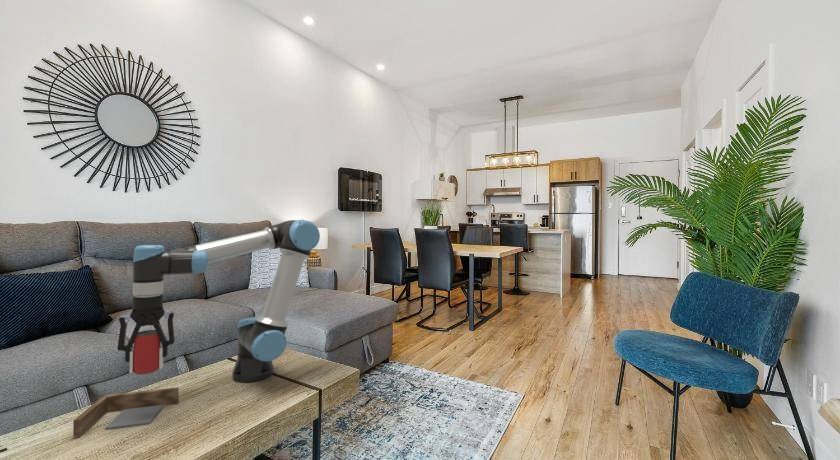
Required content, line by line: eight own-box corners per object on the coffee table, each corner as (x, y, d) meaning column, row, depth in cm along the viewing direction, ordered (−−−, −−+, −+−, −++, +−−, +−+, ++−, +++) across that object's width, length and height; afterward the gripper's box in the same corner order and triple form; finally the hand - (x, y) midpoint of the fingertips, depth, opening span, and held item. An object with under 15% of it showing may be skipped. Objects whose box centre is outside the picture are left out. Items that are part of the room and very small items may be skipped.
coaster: (163, 406, 118) (163, 404, 118) (149, 424, 107) (149, 422, 107) (123, 411, 114) (123, 409, 114) (105, 429, 104) (105, 427, 104)
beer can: (127, 375, 107) (128, 335, 107) (143, 366, 113) (144, 329, 113) (149, 375, 107) (150, 335, 107) (164, 367, 114) (165, 329, 114)
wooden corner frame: (178, 401, 121) (178, 387, 121) (160, 426, 106) (160, 409, 106) (104, 410, 115) (104, 395, 115) (73, 438, 100) (73, 420, 100)
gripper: (186, 290, 118) (185, 360, 118) (110, 295, 108) (108, 371, 108) (185, 294, 112) (183, 368, 112) (103, 299, 102) (102, 380, 102)
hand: (146, 369), depth 110 cm, fingers closed on beer can, 6 cm apart
